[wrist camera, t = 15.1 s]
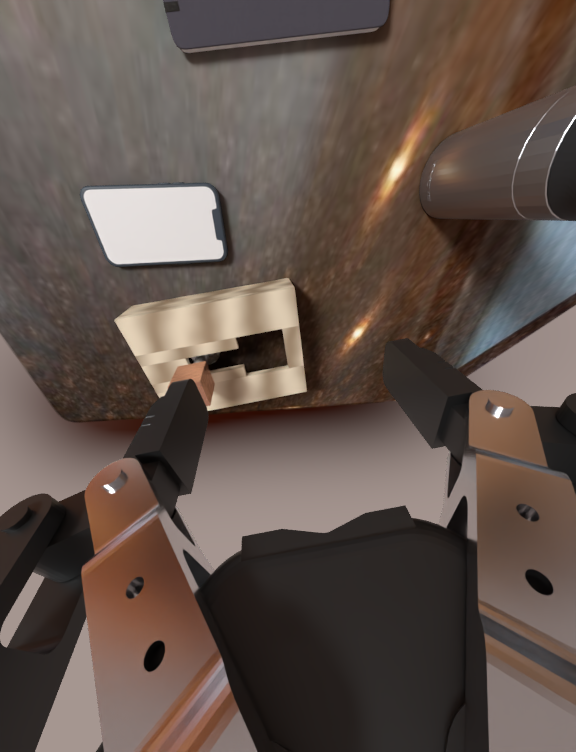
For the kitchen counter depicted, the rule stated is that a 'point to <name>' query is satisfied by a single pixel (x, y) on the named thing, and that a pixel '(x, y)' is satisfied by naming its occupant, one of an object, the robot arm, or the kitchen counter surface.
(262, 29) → the notebook
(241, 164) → the kitchen counter surface
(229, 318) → the keyhole plate
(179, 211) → the smartphone
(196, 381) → the footed peg
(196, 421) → the robot arm
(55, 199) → the kitchen counter surface
